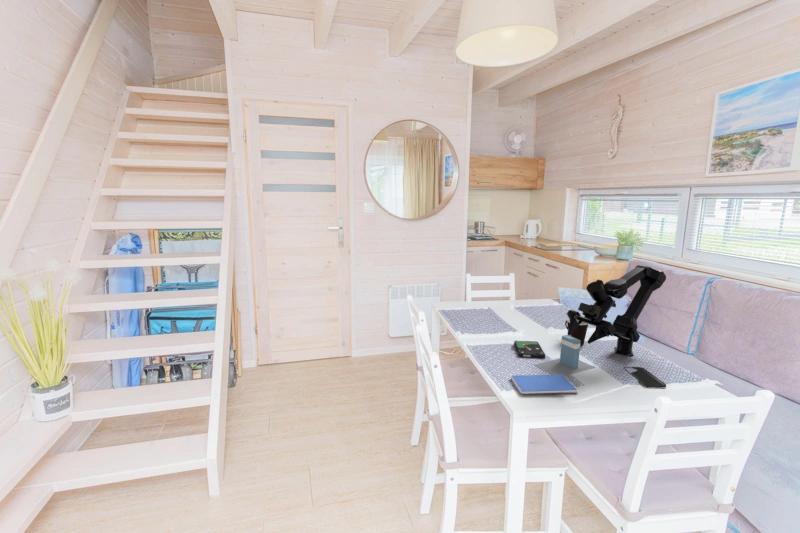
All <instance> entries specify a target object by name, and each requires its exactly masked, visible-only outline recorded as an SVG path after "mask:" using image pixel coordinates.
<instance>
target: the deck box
mask: <svg viewBox="0 0 800 533" xmlns="http://www.w3.org/2000/svg"><path fill="white" fill-rule="evenodd" d="M580 342H581V340H579V339H576V338H574V337H571V336H569V335H568V334H564V335H562V336H561V344H560V356H559V358H560V363H562V364H564V365H566V366H568V367H570V368H573V369H574V368H578V362H579V360H580V351H581V350H580V349H581V346H580Z"/></svg>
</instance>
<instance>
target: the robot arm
mask: <svg viewBox="0 0 800 533" xmlns="http://www.w3.org/2000/svg"><path fill="white" fill-rule="evenodd" d="M666 280H667V275H666V274H665V272H664V271H662V270H658V269H654V268H652V267H650V266H648V265H643V264H638V265H636V266H635V267H634V268H633V269H631V270H630V271H628V272H627V273H625V274H624V275H623V276H621V277H620V278H617V279H611V280H608V281H606V282H605V283H604V281H603V279H602V280H601V279H596V281H595V280H594V281H592V282H590V283H588V284H587V285H586V288H585V289H586V291H587V292H588V294H589V296H590V297H591V299H592V300H593V301H594V302H593V304H587V303H584V302H580V303H579V306H578V308H577V311H576V310H574V309H569V310H568V311H567V313H566V315H567V317H568V319H570V326H569V330H567V335H569V336H570V335H571V334H572V333H573V332H574V331H575V330H576V329H577V328H578V327H579V326H580V325H579V324H581V323H582V322H585V323H588V325H591V326H594V327H595V330H594V331H593V332H592V334H591V336H590V337H589V338H588V340H587V344H592V343H594V342H597V341H598V340H600V339H603V338H605V337H610V336H611V337H616V338H617V339H616V340H617V341H616V346H614V350H615V353H616V354H620V355H624V356H625V355H626V356H634V352H633V346H634V345H633V344H634V343H637V342H639V341H640V337H641V335H640V334H639V332H638V321H637V320H638V318H639V316H640V314H641V313H642V312H643V310H644V308H645V307H646V305H647V303H648V301H649V299H650V297H651V296H652V294H653V292H654V291H657V290H658V289H660V288H661V287H662V286H663V284H664V283H665V282H666ZM639 281H640V282H639ZM638 282H639V283H640V284H639V285H640V286H639V288H638V290H637V291H636V293H635V295H634V297H633V298H632V300H631V302H630V304H629V306H628V307H627V309H626V310H625V312H624V313H623V314H622V315H621V314H618V315H616V317H615V319H614V321H607V320H605V319H607V318H608V315H607V314H608V312H609V311H610V310H611V308H617V304H616V300H615V299H613V298H616V299H619V300H620V299H622V298H624V296H625V295H627V293H628V289H629V288H631V287H632V286H634V285H635V284H636V283H638ZM580 312H582V315H581V313H580Z"/></svg>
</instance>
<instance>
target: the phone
mask: <svg viewBox="0 0 800 533" xmlns="http://www.w3.org/2000/svg"><path fill="white" fill-rule="evenodd" d="M626 368H631V369H633V370H635V371H633V372H630V371H629V370H628V369H626ZM622 369H624V370H625V371H626V372H628V374H630V375H631V376H633V377H634V378H635V379H636V380H637V382H638V381H639V382H640V383H641V384H642V385H644V386H646V387H645V388H648V387H654V386H656V387H666V388H667V384H666V383H664V381H662V380H660V379H659V378H658V377H657V376H655V375H654V374H653V373H652V372H650V371H648V370H647V369H646V368H644V367H641V366H623V368H622ZM639 382H638V383H639ZM640 383H639V384H640ZM641 384H640V385H641ZM642 385H641V386H642ZM644 386H643V387H644Z"/></svg>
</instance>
